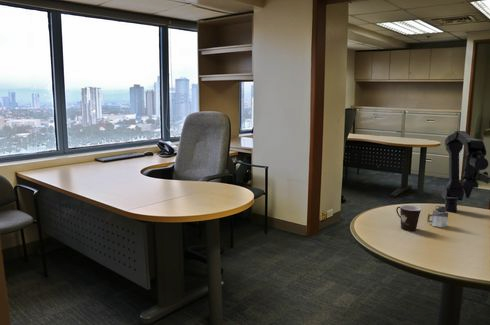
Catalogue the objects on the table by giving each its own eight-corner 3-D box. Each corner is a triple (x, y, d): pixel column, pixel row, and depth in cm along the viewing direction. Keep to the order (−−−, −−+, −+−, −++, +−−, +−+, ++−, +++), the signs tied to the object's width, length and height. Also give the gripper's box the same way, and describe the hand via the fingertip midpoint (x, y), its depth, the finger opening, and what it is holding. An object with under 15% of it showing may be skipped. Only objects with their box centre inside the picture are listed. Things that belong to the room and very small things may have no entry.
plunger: (433, 221, 190) (435, 205, 189) (445, 223, 188) (447, 206, 186) (433, 224, 186) (434, 207, 184) (444, 226, 183) (447, 209, 182)
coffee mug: (421, 232, 177) (424, 211, 175) (402, 232, 177) (404, 210, 175) (411, 223, 189) (413, 203, 187) (393, 223, 189) (395, 203, 187)
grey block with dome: (427, 221, 192) (428, 209, 191) (446, 224, 188) (448, 212, 187) (426, 225, 186) (428, 213, 185) (446, 229, 182) (448, 216, 181)
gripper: (493, 171, 177) (488, 205, 179) (489, 164, 193) (485, 195, 196) (464, 168, 182) (460, 201, 184) (463, 162, 198) (459, 192, 201)
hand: (467, 197), depth 191 cm, fingers closed
